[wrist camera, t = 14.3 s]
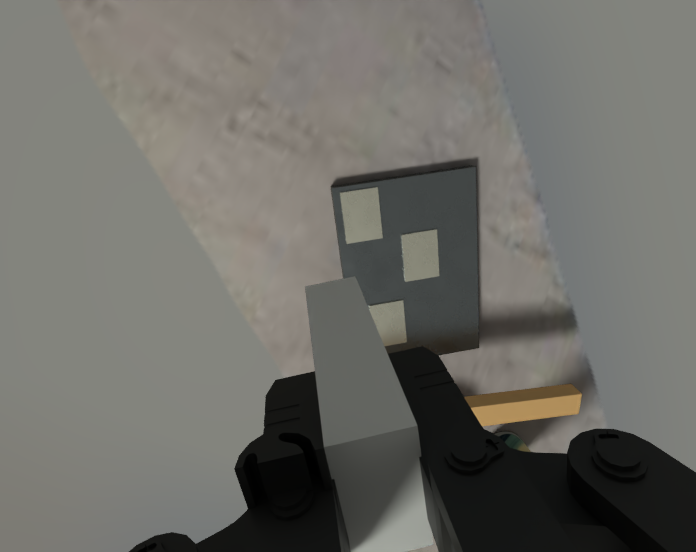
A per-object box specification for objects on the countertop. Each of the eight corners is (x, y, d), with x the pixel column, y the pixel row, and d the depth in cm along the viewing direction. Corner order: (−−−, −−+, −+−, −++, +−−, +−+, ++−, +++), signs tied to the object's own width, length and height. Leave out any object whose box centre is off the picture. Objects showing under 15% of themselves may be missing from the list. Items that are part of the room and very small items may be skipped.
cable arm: (348, 435, 45) (351, 451, 43) (346, 402, 43) (350, 417, 41) (565, 408, 48) (578, 421, 46) (571, 376, 46) (584, 388, 44)
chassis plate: (330, 186, 42) (331, 188, 41) (471, 165, 44) (476, 166, 42) (355, 365, 50) (356, 371, 48) (475, 343, 51) (479, 348, 50)
